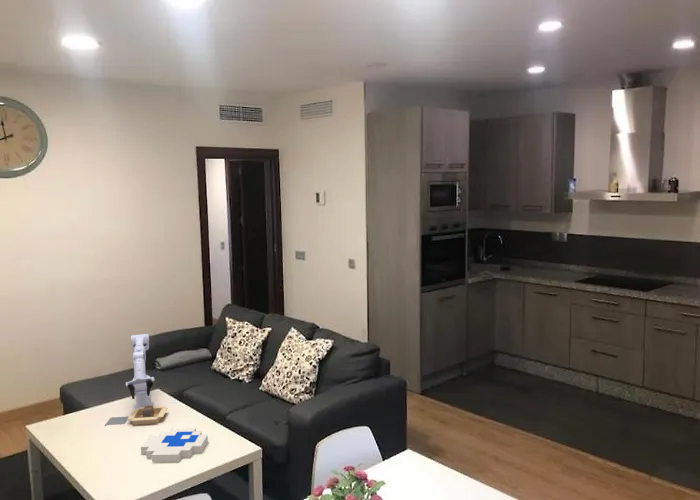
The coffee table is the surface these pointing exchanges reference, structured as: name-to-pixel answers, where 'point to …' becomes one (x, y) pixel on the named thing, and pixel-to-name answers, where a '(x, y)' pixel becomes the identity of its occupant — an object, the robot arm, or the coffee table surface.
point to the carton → (138, 417)
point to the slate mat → (116, 420)
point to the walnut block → (148, 411)
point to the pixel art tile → (174, 445)
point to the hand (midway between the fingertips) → (140, 396)
